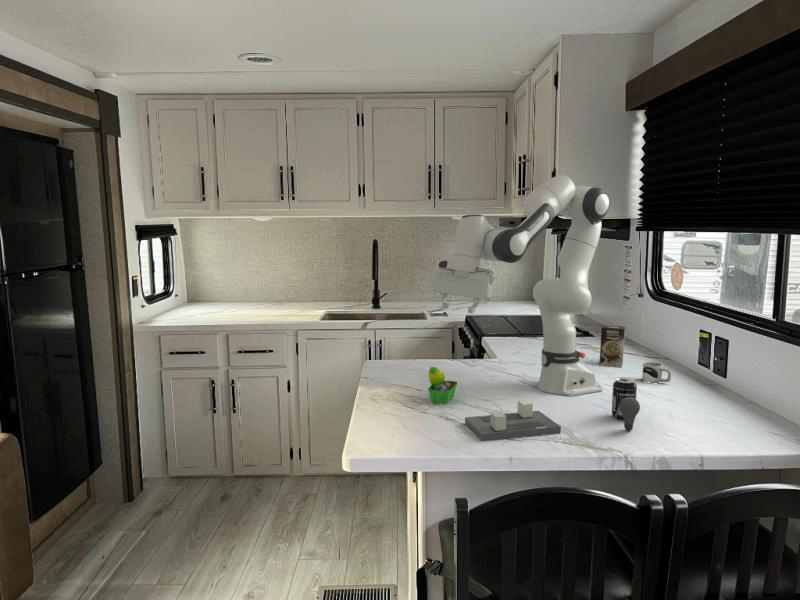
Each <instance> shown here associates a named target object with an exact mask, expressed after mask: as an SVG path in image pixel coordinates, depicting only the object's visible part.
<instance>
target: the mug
mask: <svg viewBox="0 0 800 600" xmlns="http://www.w3.org/2000/svg"><path fill="white" fill-rule="evenodd" d="M671 371H672V370H670V368H666V367H663V364H662V363H660V362H655V361H645V362H643V363H642V380H643V381H645V382H650V383H659V382H662V383H669V382H671V380H672V372H671ZM663 372H667V374H668V375H667V378H663ZM643 381H642V382H643ZM645 382H644V383H645Z"/></svg>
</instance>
